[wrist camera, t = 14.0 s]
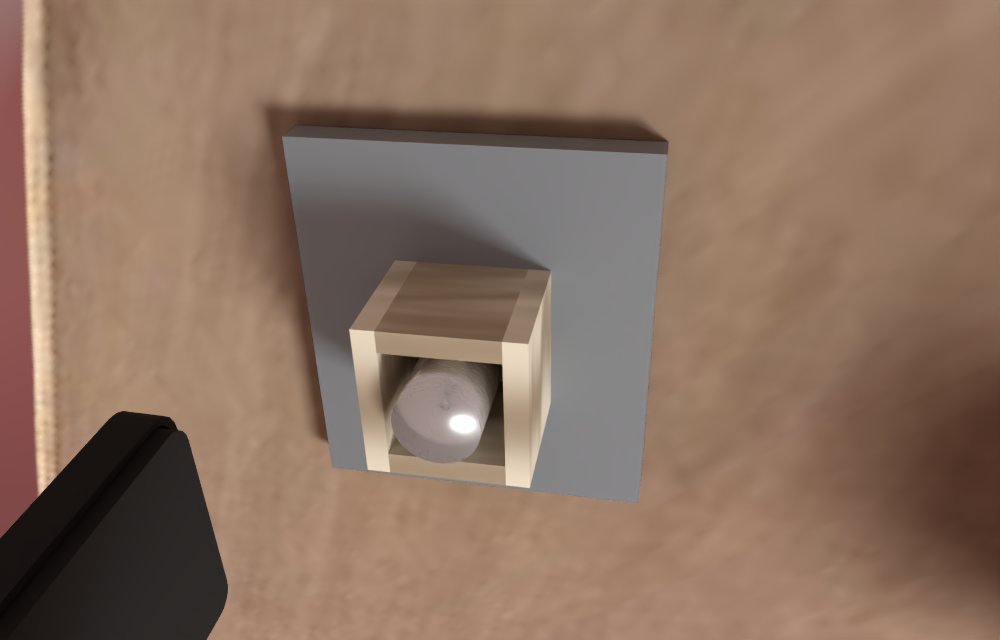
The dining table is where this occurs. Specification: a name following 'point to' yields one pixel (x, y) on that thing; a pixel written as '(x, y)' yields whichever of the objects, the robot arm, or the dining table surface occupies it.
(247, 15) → the dining table surface
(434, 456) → the grey cylinder
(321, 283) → the grey board
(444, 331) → the birch collar
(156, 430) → the robot arm
